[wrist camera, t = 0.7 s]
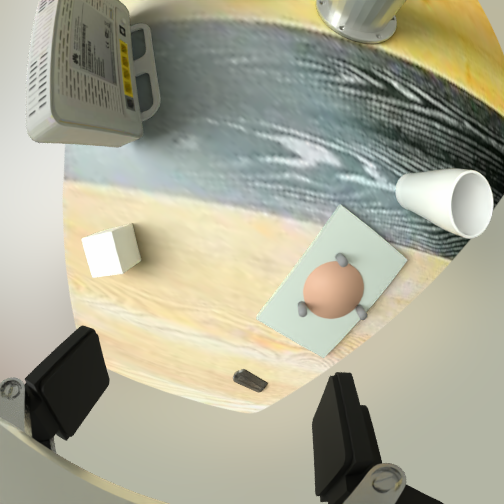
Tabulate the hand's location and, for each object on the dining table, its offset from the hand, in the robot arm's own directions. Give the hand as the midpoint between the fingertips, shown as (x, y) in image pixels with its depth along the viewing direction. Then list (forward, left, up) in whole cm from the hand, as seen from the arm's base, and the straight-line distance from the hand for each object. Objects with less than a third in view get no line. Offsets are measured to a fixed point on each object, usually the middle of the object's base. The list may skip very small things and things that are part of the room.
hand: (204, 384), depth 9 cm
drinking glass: (-17, +14, -29) cm, 37 cm away
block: (+23, +13, -30) cm, 40 cm away
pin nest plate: (+1, +13, -29) cm, 32 cm away
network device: (-10, -30, -29) cm, 43 cm away
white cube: (+14, -17, -29) cm, 36 cm away
